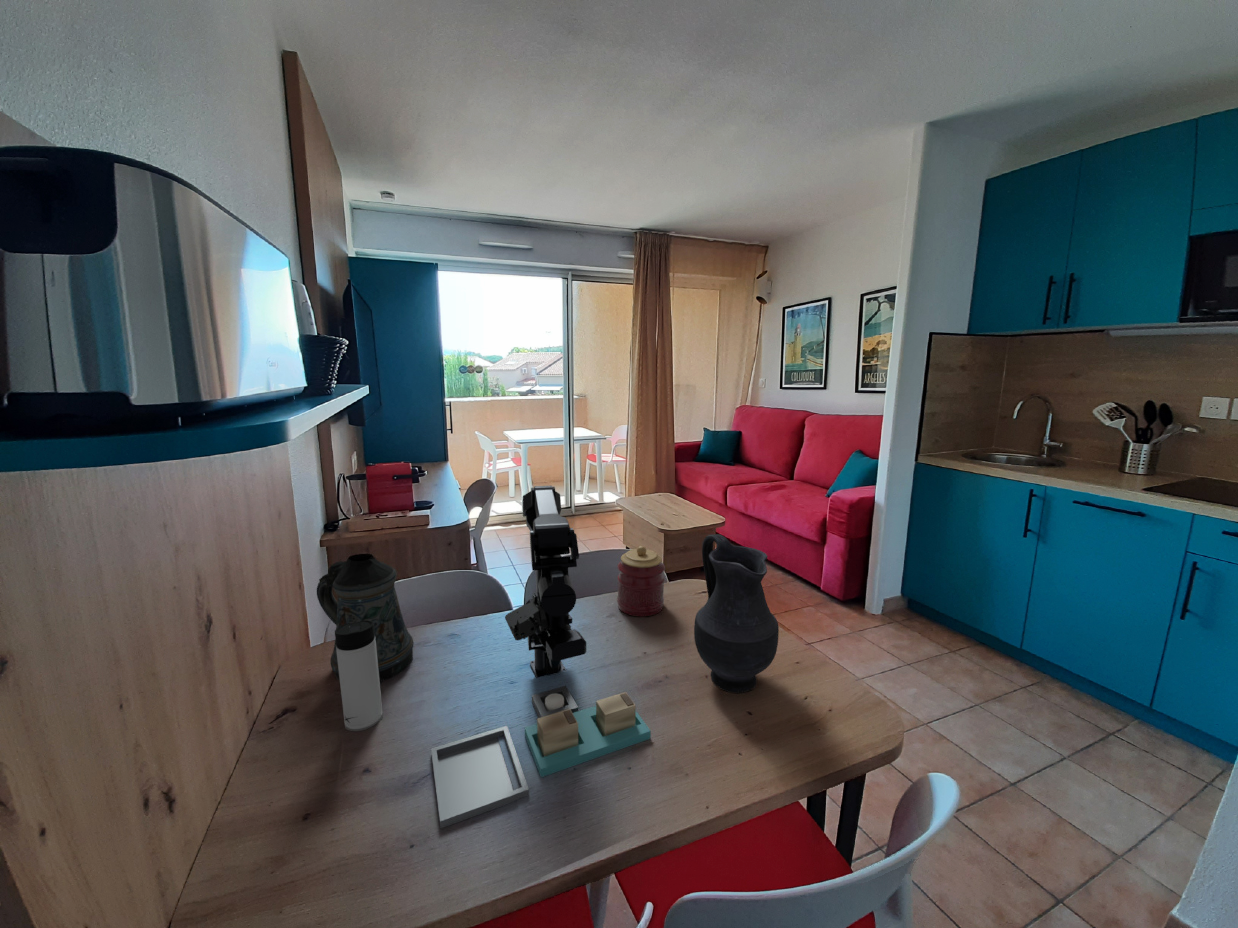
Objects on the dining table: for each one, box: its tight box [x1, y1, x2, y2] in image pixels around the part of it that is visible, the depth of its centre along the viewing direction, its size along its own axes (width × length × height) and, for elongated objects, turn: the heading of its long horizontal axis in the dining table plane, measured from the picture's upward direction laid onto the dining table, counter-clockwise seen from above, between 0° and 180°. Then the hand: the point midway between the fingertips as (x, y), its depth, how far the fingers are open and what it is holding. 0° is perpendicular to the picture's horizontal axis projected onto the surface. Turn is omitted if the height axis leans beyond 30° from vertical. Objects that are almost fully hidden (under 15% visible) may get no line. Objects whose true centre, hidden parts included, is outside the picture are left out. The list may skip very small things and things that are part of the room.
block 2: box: [595, 691, 637, 737], centre depth 88 cm, size 4×6×5 cm, turn 115°
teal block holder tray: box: [524, 705, 652, 778], centre depth 87 cm, size 10×20×2 cm, turn 115°
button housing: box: [531, 685, 579, 718], centre depth 94 cm, size 7×7×2 cm
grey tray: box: [430, 725, 530, 829], centre depth 79 cm, size 15×13×2 cm
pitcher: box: [693, 533, 780, 694], centre depth 104 cm, size 17×21×30 cm
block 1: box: [536, 709, 578, 757], centre depth 84 cm, size 4×6×5 cm, turn 115°
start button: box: [544, 693, 565, 712], centre depth 94 cm, size 4×4×2 cm
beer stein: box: [316, 553, 415, 682], centre depth 106 cm, size 16×19×25 cm
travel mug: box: [334, 620, 384, 732], centre depth 89 cm, size 6×7×20 cm
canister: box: [616, 545, 666, 618], centre depth 134 cm, size 13×13×18 cm
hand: (554, 666), depth 92 cm, fingers closed
